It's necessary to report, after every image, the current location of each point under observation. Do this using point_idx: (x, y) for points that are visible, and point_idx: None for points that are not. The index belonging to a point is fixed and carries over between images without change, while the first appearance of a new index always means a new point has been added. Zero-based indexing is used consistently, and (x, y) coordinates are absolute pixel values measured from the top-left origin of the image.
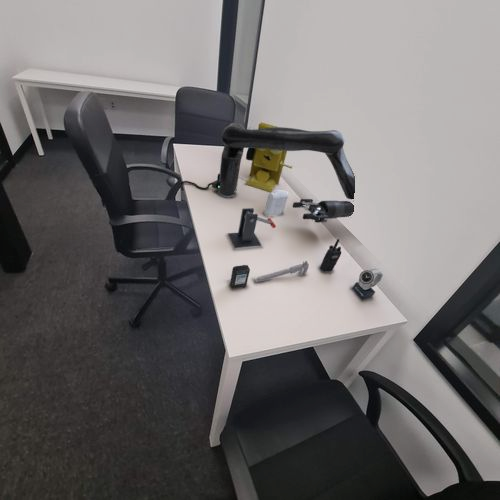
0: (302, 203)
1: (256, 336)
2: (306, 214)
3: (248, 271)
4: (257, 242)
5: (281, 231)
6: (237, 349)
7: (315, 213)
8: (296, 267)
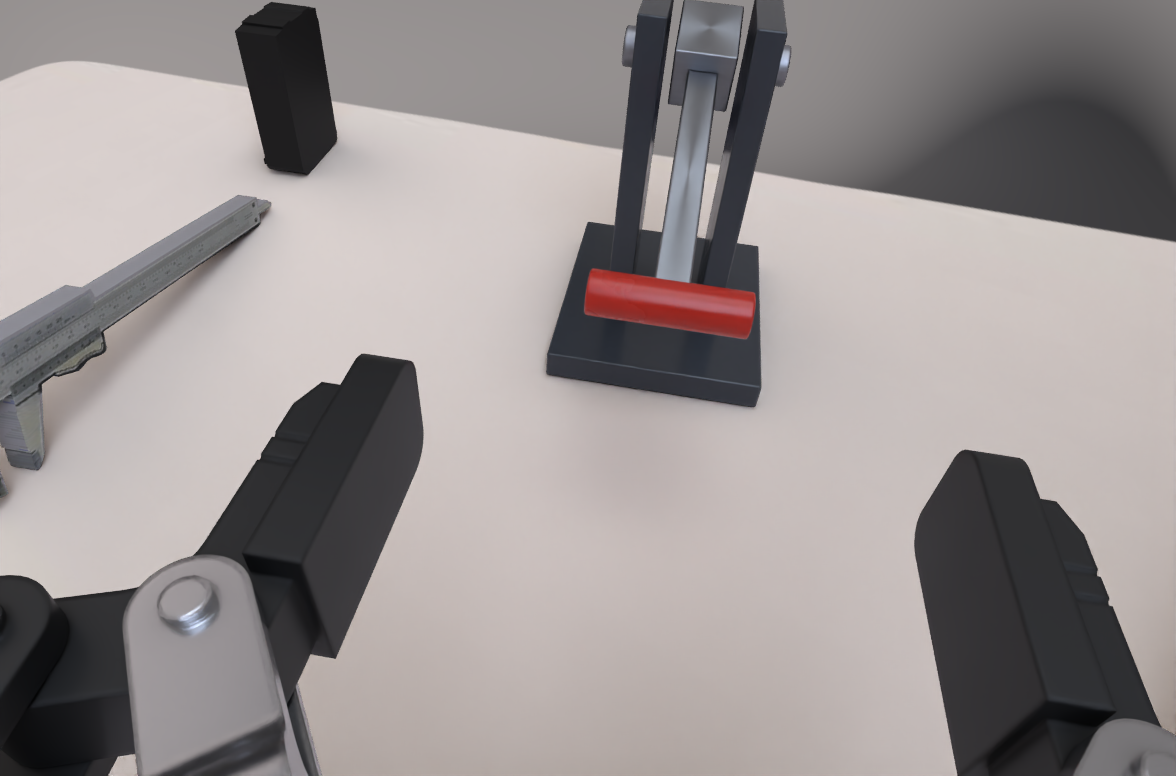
0: (1073, 770)
1: (17, 108)
2: (345, 379)
3: (242, 43)
4: (588, 344)
5: (764, 747)
6: (51, 67)
7: (189, 688)
8: (27, 308)
